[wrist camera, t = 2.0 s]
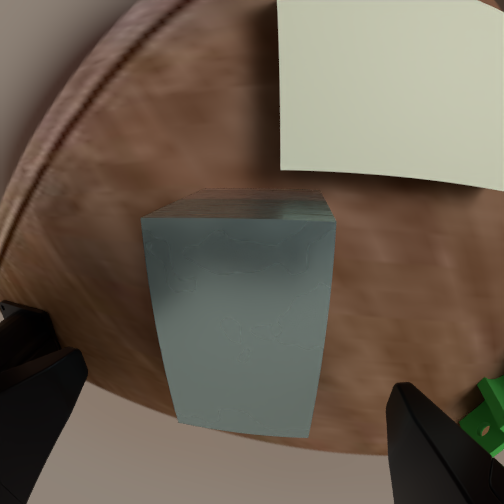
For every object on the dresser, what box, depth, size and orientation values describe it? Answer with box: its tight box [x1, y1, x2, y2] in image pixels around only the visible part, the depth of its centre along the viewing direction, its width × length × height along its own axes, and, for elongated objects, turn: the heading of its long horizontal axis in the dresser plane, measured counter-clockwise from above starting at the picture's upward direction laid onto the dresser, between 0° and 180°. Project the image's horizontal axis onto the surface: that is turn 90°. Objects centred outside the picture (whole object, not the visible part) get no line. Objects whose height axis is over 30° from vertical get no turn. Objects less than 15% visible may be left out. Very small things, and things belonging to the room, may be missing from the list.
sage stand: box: [277, 0, 504, 191], centre depth 9 cm, size 10×8×3 cm
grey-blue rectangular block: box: [141, 188, 336, 438], centre depth 11 cm, size 5×8×6 cm, turn 1°
